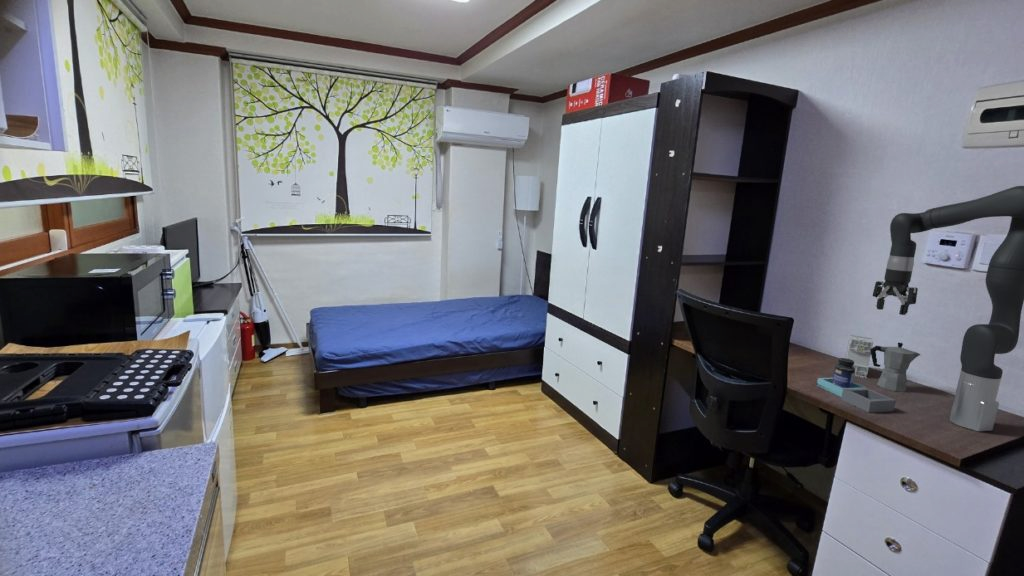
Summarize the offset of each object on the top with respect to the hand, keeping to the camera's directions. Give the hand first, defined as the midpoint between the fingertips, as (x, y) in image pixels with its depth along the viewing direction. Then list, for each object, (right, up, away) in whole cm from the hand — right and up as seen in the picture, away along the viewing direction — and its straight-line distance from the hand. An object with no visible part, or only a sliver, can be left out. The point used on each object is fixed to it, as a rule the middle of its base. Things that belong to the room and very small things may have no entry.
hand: (890, 311), depth 177 cm
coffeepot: (+5, -30, +8) cm, 31 cm away
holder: (-17, -32, -11) cm, 38 cm away
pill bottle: (-17, -29, +1) cm, 34 cm away
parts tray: (-17, -30, +1) cm, 34 cm away
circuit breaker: (+5, -26, +25) cm, 37 cm away
